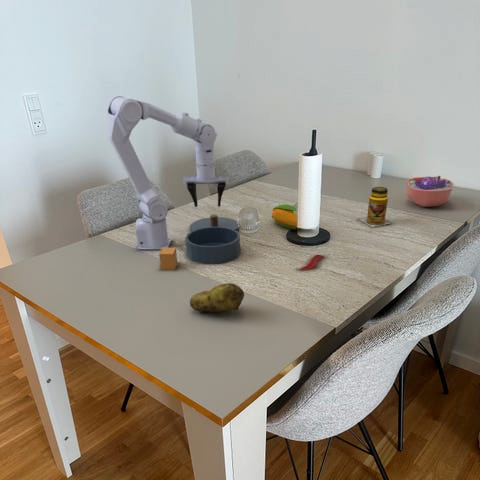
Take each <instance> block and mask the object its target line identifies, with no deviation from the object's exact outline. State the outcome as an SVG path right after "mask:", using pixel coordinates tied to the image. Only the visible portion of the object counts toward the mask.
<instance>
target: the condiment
mask: <svg viewBox="0 0 480 480" xmlns="http://www.w3.org/2000/svg"><path fill="white" fill-rule="evenodd" d="M388 191H389V190H388V188H387V187H385V186H375V187H372V188H371V191H370V196H369V198H368V207H367V209H368V210H367V215H366V216H367V217H365V218H359V219H358V220H359V221H360V222H363V223H364V224H366V225H367V226H369V227H372V228H374V227H381V226H386V225H388V224H391V223H390V222H388V221H386V216H387V215H386V214H387V208H388V202H389V201H388V200H389V198H388Z"/></svg>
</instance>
